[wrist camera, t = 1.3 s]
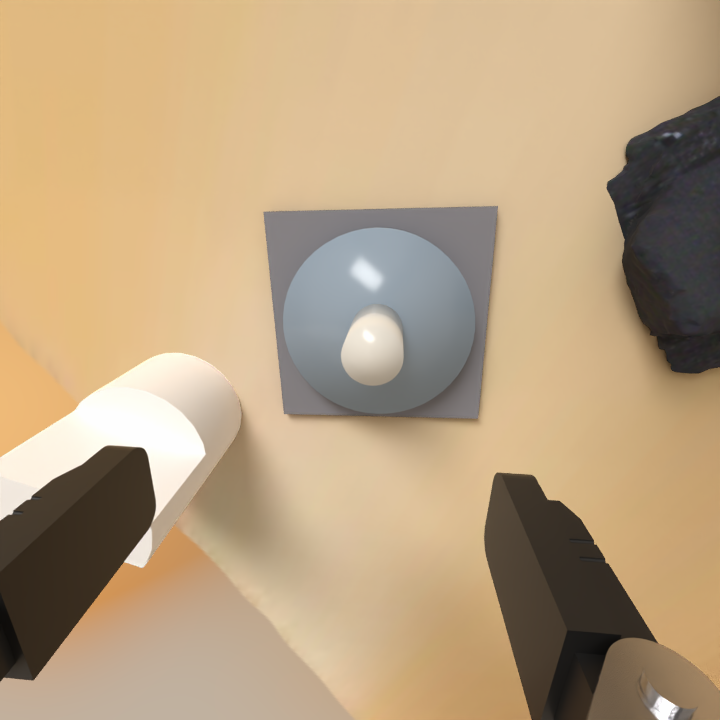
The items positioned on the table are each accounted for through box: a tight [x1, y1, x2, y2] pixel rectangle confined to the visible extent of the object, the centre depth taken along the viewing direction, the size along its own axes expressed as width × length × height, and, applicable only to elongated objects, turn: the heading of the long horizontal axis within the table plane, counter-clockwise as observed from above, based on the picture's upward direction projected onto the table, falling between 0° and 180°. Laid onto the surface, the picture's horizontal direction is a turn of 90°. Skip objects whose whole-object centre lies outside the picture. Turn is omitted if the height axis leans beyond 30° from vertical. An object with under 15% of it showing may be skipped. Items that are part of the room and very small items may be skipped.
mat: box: [264, 206, 498, 419], centre depth 27 cm, size 14×14×1 cm
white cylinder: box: [0, 353, 242, 568], centre depth 25 cm, size 9×9×12 cm
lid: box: [283, 227, 475, 414], centre depth 23 cm, size 12×12×6 cm
